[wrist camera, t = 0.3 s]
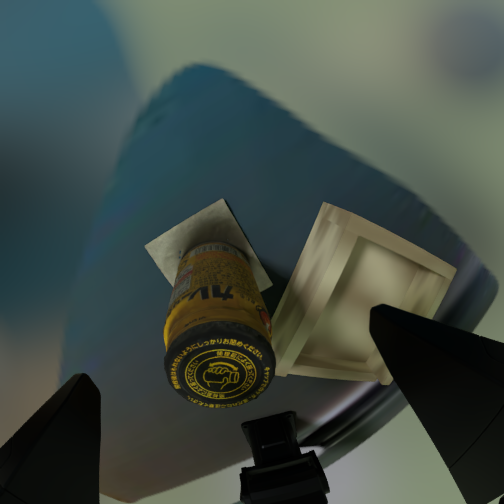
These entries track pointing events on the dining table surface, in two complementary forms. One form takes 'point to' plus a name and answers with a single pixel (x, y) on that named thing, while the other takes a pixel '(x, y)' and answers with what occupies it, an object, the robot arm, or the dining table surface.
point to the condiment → (215, 311)
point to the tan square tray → (350, 297)
